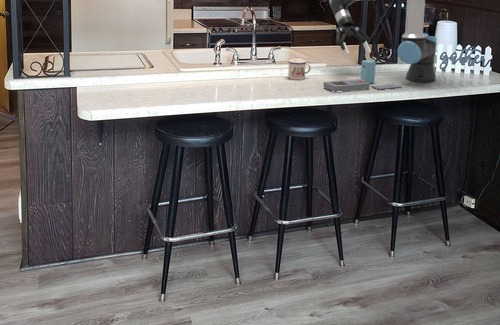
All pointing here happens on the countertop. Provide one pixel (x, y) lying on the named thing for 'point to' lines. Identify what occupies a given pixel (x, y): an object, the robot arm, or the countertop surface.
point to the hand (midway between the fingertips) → (358, 53)
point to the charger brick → (368, 71)
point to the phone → (385, 87)
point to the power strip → (346, 85)
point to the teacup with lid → (297, 68)
